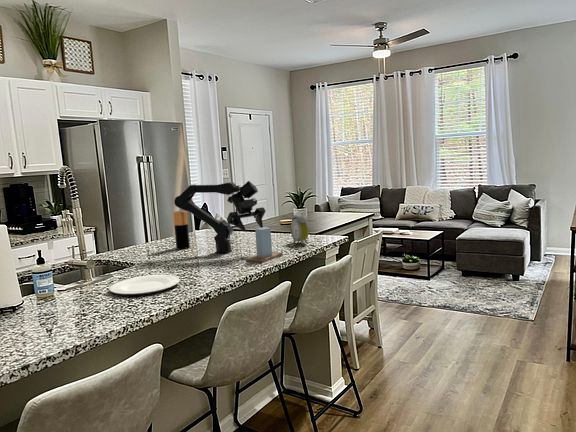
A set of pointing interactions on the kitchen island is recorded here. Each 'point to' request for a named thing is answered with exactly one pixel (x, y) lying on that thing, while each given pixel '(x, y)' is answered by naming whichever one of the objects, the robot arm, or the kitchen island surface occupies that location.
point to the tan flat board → (264, 259)
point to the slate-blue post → (263, 242)
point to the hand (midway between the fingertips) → (253, 229)
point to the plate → (144, 284)
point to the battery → (181, 229)
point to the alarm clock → (299, 228)
